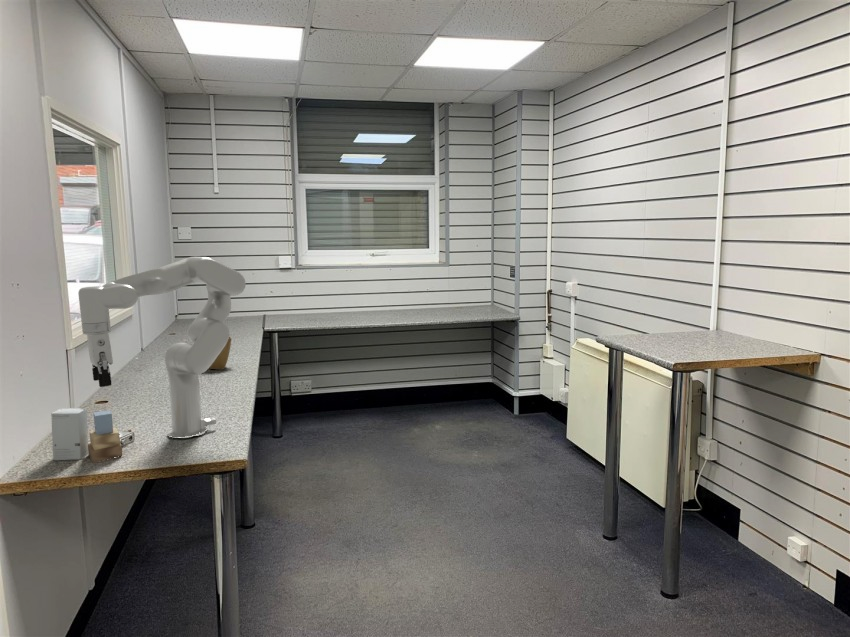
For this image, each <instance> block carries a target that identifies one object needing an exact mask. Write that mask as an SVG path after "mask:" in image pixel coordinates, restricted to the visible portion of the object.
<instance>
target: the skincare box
mask: <svg viewBox="0 0 850 637" xmlns="http://www.w3.org/2000/svg"><path fill="white" fill-rule="evenodd" d="M50 416H51V436H52V440H51V441H52V459H53V461H67V460H69V461H70V460H71V461H72V460H74V461H75V460H77V461H78V460H82V459H83V458H84V457H86V456H87V455H89V452H88V444H89V435H88V433H89V431H88V430H89V429H88V428H89V426H88V409H87V408H76V407H73V408H59V409H57V410H55V411H53V412H51V415H50Z"/></svg>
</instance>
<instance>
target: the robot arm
mask: <svg viewBox="0 0 850 637" xmlns="http://www.w3.org/2000/svg"><path fill="white" fill-rule="evenodd" d="M194 283H203V284H204V283H205V286H206V291H207V301H206V304H205V305H204V306H203V308H202V310H201V311H200V312H199V314H197V316H196V317H195V319H194V320H193V321H192V322H191V323H190V325H189V327H188V329H187V333H186V334H187V339H188V340H189V341H190V342H191V343H192V344H191V343H187V342H176V343H173V344H171V345H170V346H169V347H168V348H167V349H166V351H165V355H164V363H165V368H166V372H167V376H168V386H169V400H170V402H169V403H170V412H171V413H170V416H171V429H170V430H168V431H167V436H168V435H169V436H172V437H185V436H192V435H196V434H199V432H200V433H202V432H204V431H205V430H206V429H207V430H208V426H211V425H216V424H217V420H216V418H209V417H208V418H203V417H202V406H201V390H200V388H201V387H200V385H201V384H200V379H199V375H201V374H203V373H205V372H206V371H207V370H208V369H210V368H209V367H210V366H211V365H212V363H213V362H214V361H215V359H216V358H217V356H218V355H219V354H220V352H221V351H222V350H223V348H224V347H225V345H226V343H227V341H228V339H229V337H230V328H229V327H228V325H227V324H226V323H225V322H226V320H227V319H228V317H229V315H230V313H231V311H232V310H231V309H232V300H231V299H232V298H231V297H235V296H238V295H241V294H242V293H243V292H244V290H245V289H246V283H247V282H246V279H245V277H244V275H243V274H241V272H239V271H237V270H235V269H233V268H231V267H229V266H227V265H225V264H223V263H222V262H219V261H217V260H214V259H213V258H211V257H207V256H190V257H186V258H182V259H180V260H177V261H174V262H171V263H169V264H166V265H162V266H160V267H156V268H153V269H149V270H146V271H143V272H139V273H135V274H131V275H127V276H124V277H121V278H118V279H114V280H112V281H109V282H106V283H104V284H103V285H102V286H98V285H97V286H95V285H93V286H85V287H81V288H80V289H79V290H78V302H79V312H80V320H81V330H82V331H81V332H82V334H83V335H86V336H87V337H86V338H87V345H88V346H87V348H88V354H89V355H88V356H89V360H90V363H91V364H92V377H93V378H92V379H93V381H95V382H96V381H98V386H99V387H100V388H103V387H110V386H112V377H111V371H110V367H109V365H110V366H111V365H113V364H114V360H113V354H112V347H111V339H110V337H109V333H111V332H112V327H111V319H110V318H111V315H110V310H111V309H112V310H116V309H117V310H126V309H129V308H132V307H133V306H135V305H136V303H137V302H138V299H139V298H140V297H145V296H150V295H151V296H153V295H165V294H168V293H170V292H173V291H176V290H178V289H181V288H183V287H187V286H189V285H191V284H194ZM206 427H207V428H206Z"/></svg>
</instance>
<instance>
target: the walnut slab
mask: <svg viewBox="0 0 850 637" xmlns="http://www.w3.org/2000/svg"><path fill="white" fill-rule="evenodd" d="M88 452H89V453H88V457H89V458H90V460H91V462H92V463H93V464H94V463H100V462H104V461H103V460H105V461H108V460H107V459H109V460H111V459H110V458H114V457H118V456H122V455H123V444H121V443H120V445H118V446H113V447H108V448H102V449H97V450H94V448H93V447H92V445H91V442H90V443H89V442H88ZM114 459H115V458H114ZM99 461H100V462H99Z"/></svg>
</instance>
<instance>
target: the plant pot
mask: <svg viewBox="0 0 850 637" xmlns="http://www.w3.org/2000/svg"><path fill="white" fill-rule="evenodd" d="M231 346H232V336H229V339H228V341H227V343H226V345H225V347H224V348H223V350H222V351H221V352H220V354H219V355H218V356H217V358H216V359H215V361H214V362H213V363H212V365H211V366H210V367H209V368H208V369H209V370H211V369H220V370H224V369H225V368H226V365H227V362H228V359H229V357H230V356H229V355H230V350H231ZM223 368H224V369H223Z"/></svg>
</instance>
